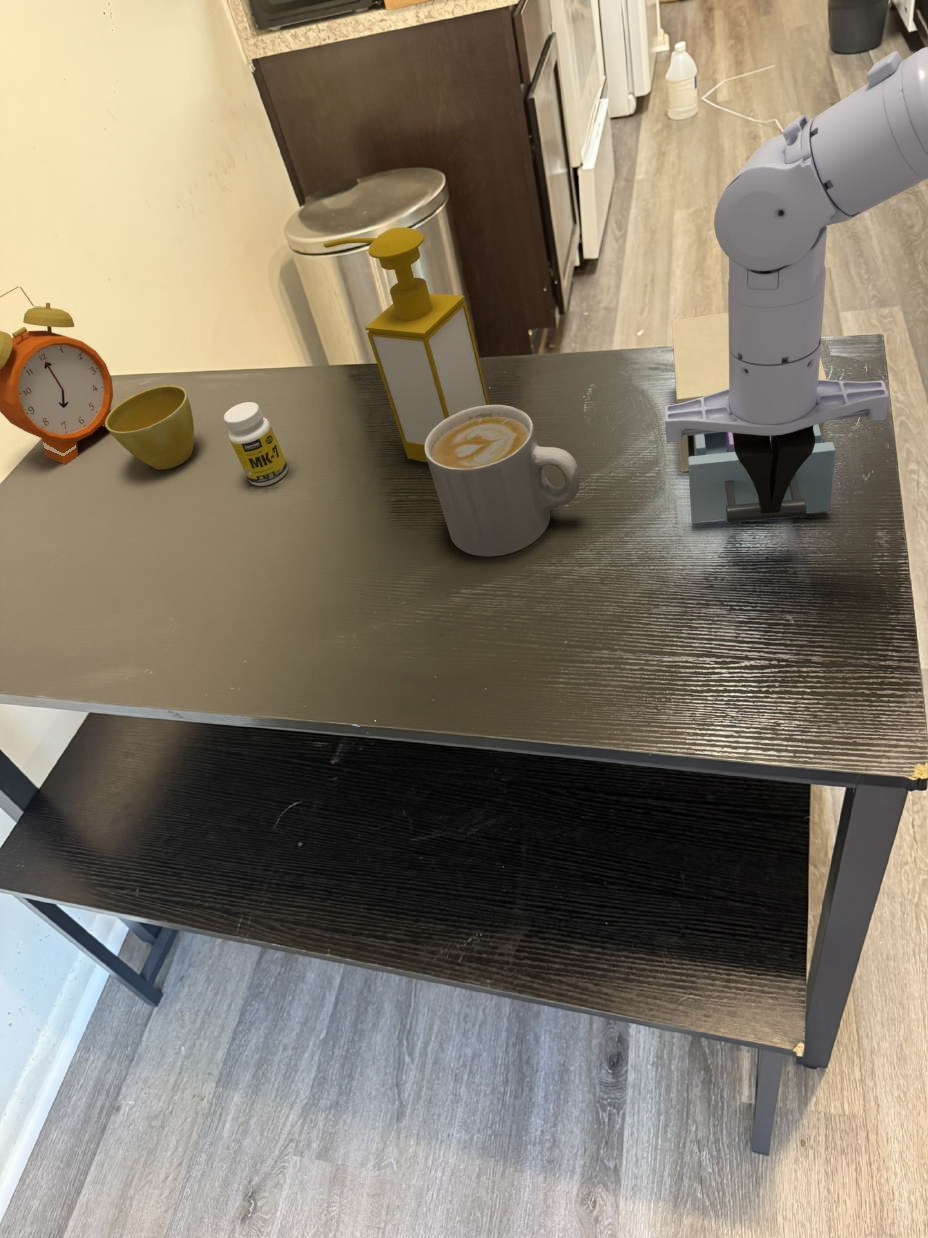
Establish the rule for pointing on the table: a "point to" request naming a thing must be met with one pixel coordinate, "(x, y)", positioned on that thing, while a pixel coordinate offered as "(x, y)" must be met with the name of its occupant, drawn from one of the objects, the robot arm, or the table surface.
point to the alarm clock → (53, 383)
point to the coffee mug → (495, 479)
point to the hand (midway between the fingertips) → (769, 505)
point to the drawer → (732, 493)
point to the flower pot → (155, 426)
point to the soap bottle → (421, 345)
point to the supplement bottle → (255, 444)
